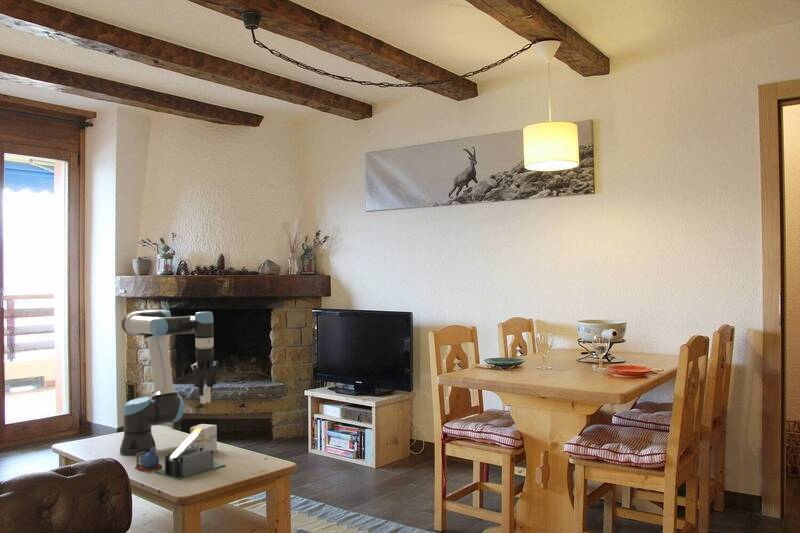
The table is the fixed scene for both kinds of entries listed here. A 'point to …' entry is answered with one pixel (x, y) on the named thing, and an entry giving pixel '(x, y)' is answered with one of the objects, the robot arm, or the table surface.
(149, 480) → the table surface
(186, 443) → the white flat bar
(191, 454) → the heatsink base
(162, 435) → the table surface
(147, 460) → the model
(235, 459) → the table surface
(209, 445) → the ink box
